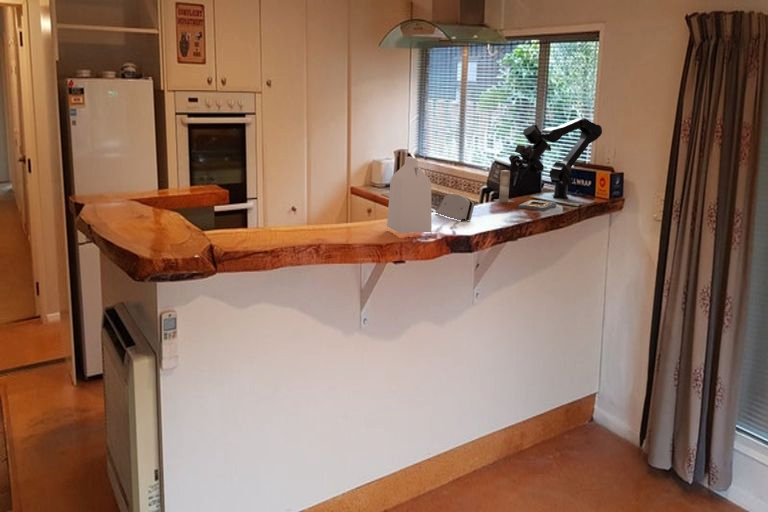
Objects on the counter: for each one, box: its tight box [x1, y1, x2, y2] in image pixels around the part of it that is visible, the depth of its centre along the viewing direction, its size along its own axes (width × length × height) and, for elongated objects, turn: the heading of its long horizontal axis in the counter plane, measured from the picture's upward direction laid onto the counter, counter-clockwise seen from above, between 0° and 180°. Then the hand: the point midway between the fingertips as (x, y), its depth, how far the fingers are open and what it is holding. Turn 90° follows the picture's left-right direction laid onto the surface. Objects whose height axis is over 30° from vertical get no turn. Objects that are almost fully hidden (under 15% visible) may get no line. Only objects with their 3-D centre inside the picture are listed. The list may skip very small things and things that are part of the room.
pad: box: [494, 198, 516, 203], centre depth 301 cm, size 7×7×1 cm
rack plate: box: [518, 199, 557, 212], centre depth 289 cm, size 16×11×2 cm
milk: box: [386, 156, 432, 233], centre depth 231 cm, size 12×12×26 cm
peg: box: [498, 169, 511, 201], centre depth 299 cm, size 4×4×13 cm
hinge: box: [435, 193, 475, 221], centre depth 263 cm, size 17×5×10 cm, turn 31°
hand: (514, 177), depth 300 cm, fingers open, 9 cm apart
